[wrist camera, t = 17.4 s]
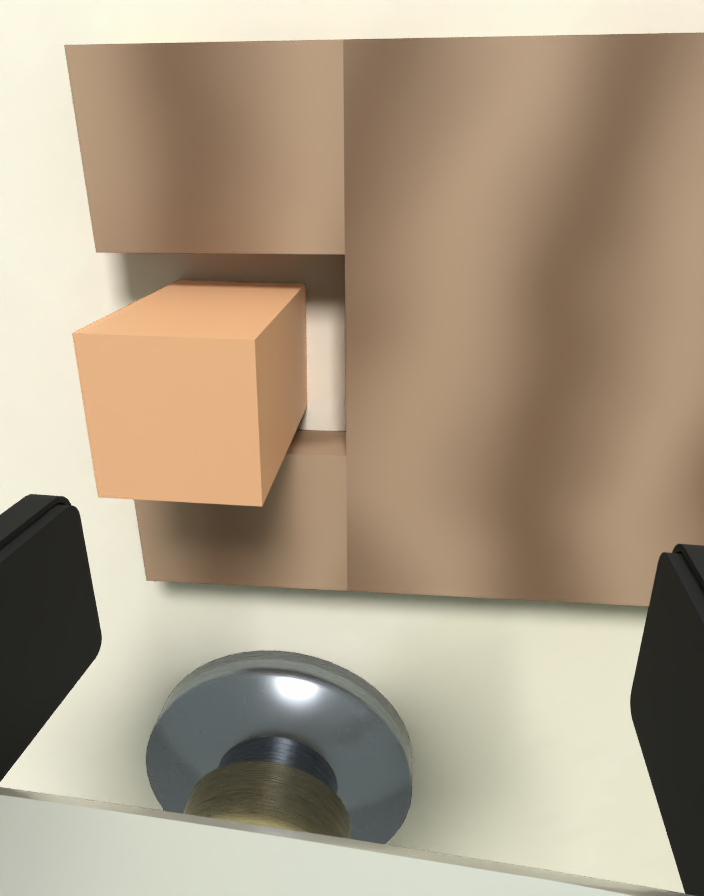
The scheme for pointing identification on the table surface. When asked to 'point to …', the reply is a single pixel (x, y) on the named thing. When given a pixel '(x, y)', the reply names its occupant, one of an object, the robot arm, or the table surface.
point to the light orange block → (195, 391)
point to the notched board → (440, 296)
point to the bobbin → (283, 748)
